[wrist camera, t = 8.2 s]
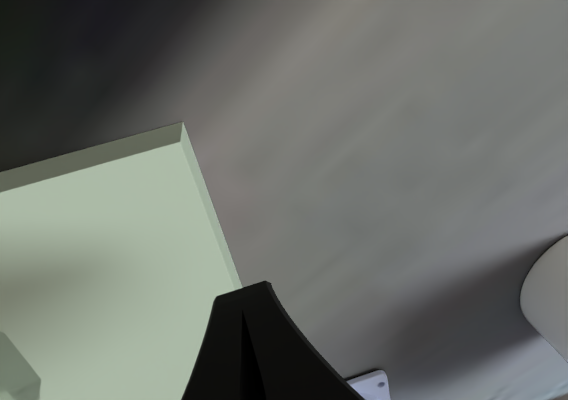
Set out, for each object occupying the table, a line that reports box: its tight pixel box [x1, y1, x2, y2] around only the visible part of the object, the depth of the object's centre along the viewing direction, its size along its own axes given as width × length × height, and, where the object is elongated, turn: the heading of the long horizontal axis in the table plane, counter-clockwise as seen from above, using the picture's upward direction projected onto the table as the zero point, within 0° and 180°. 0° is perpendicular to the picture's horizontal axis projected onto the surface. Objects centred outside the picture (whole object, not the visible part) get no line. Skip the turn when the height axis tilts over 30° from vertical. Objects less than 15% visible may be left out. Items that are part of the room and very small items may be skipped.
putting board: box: [0, 122, 242, 400], centre depth 17 cm, size 14×20×3 cm
